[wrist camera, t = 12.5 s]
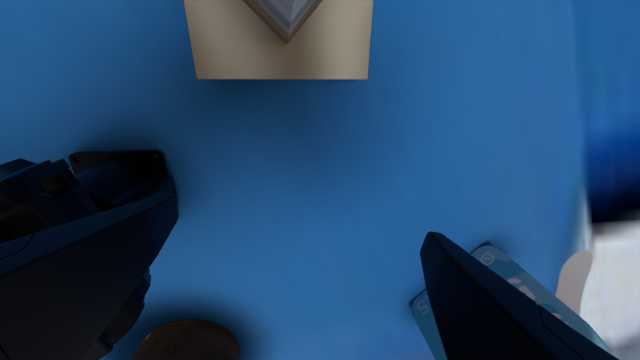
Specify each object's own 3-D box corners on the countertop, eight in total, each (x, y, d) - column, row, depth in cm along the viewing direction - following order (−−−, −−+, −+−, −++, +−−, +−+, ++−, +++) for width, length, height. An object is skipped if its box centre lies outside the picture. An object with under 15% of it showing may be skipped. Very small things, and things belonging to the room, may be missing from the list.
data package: (487, 238, 29) (611, 342, 18) (506, 258, 31) (629, 365, 20) (405, 304, 31) (471, 430, 21) (427, 319, 33) (498, 443, 22)
